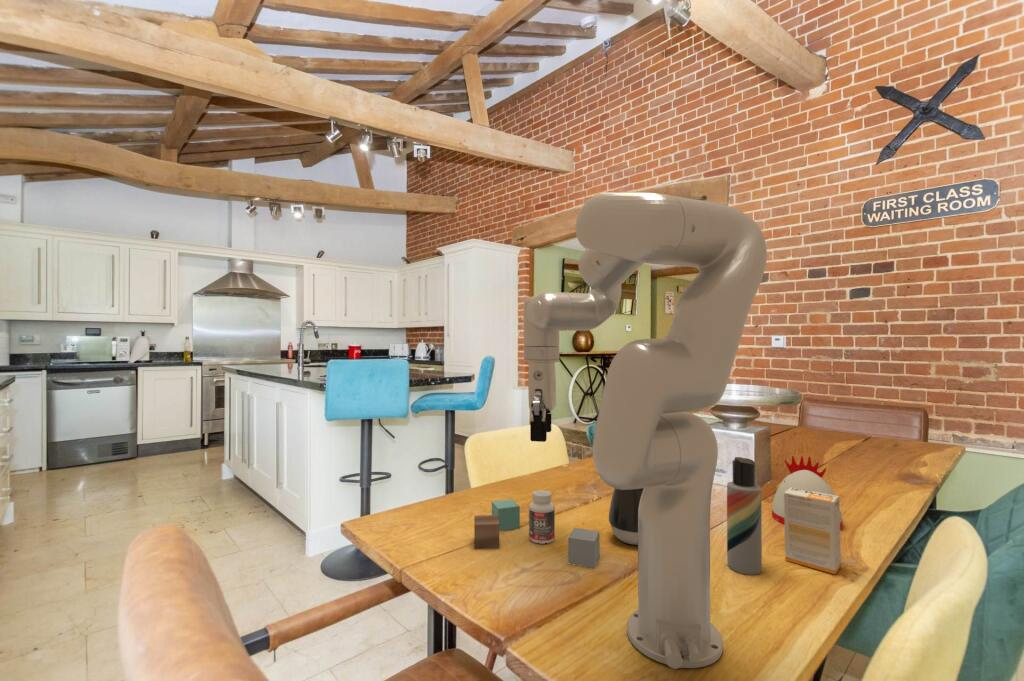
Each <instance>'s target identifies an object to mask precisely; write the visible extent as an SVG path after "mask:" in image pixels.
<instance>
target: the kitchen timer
mask: <svg viewBox="0 0 1024 681" xmlns="http://www.w3.org/2000/svg"><path fill="white" fill-rule="evenodd" d="M795 459H796V458H795V457H794V455H791V463H789V462H788V461H787V460H786V459H785V460H784V463H785V465H786V467H787V469H788V471H789V474H788V475H786V477H784V478H783V479H782V481H781V482H780V483H778V484H777V485H776V486H775V487H776V488H777V489H776V492H775V495H774V498H773V500H772V507H771V517H772V518H773V520H775V521H776V522H778V523H780V524H781V525H784V526H785V516H784V492H785V491H787V490H788V489H789V488H791V487H792V488H798V489H803V490H809V491H814V492H820V493H825V494H830V495H836V494H835V492H834V491H833V489H832V487H831V486H830V484H829V483H828V482H827V481H826V480H825V479H824V478H823V476H824V475H825V473H826V471H827V467H824V469H823V470H822V471H820V472H818V468H819V464H820V463H819V461H817V462H816V463H815V464H814V465H813V464H812V460H811V456H808V458H807V462H806V464H805V461H804V458H803V455H801V457H800V460H799V463H798V464H797V462H796V460H795ZM843 521H844V520H843V515H842V511H841V510H840V531H842V529H843V526H844V524H843Z"/></svg>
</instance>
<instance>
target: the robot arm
mask: <svg viewBox="0 0 1024 681" xmlns="http://www.w3.org/2000/svg"><path fill="white" fill-rule="evenodd" d="M575 235H576V238H577V241H578V242H579V244H580V245H581V246H582V247H583V248H584V249H585V250H584V251H583V252H582V253H581V254H580V256H579V258H578V263H577V266H578V272H579V275H580V277H581V278H582V280H583V281H584V282H585V283H586V285H588V286H589V287H590V288H591V289H592V290H590V291H588V292H587V293H584V292H583V293H582V292H581V293H580V292H568V291H567V292H565V291H563V292H560V291H547V292H546V291H545V292H541V293H540V294H538V295H534V296H528V297H526V298H525V299H524V302H523V363H528V383H527V384H528V394H527V395H528V408H529V410H531V412H530V413H531V414H530V421H529V424H530V426H529V427H530V428H529V430H530V432H529V435H530V437H529V438H530V439H529V440H530V441H531V442H540V443H542V442H543V443H544V442H546V441H547V440H548V439H547V437H548V436H547V434H548V433H551V431H552V411H553V410H554V409H555V407H556V405H557V393H556V390H557V389H556V388H557V387H556V384H557V383H556V380H557V378H556V364H555V363H560V332H561V331H563V332H564V331H573V332H574V331H576V332H578V331H581V332H587V331H591V330H594V329H597V328H598V327H600V326H601V325H602V324H603V323H605V322H606V321H607V320H608V319H609V318H610V317H612V315H614V314H615V313H616V311H617V309H618V306H620V305H619V304H620V301H621V297H622V284H623V283H625V281H627V279H629V278H630V277H631V276H632V275H633V274H634V273H635V272H636V271H637V270H638V269H639V268H641V266H643V265H644V264H648V265H649V264H650V265H663V266H673V267H674V266H675V267H687V268H688V267H689V268H696V269H697V270H698V273H697V275H696V276H695V277H694V278H693V280H692V281H690V282H689V284H688V285H687V286H686V287H685V289H684V291H682V294H681V295H680V297H679V298H678V301H677V303H676V306H675V308H674V313H673V316H672V317H673V318H672V321H671V325H670V327H669V331H668V333H667V334H666V336H665V337H664V338H641V339H637V340H636V339H635V340H633V341H630V342H628V343H626V344H625V345H623V346H622V347H621V348H620V349H619V350H618V351H617V353H616V354H615V356H614V357H613V358H612V361H611V363H610V364H609V368H608V371H607V374H606V379H605V382H604V387H603V388H604V389H603V392H602V396H601V401H600V404H599V405H600V407H599V410H598V414H597V415H598V416H597V420H596V424H595V428H594V434H593V439H592V440H593V441H592V458H593V465H594V467H595V469H596V470H595V471H596V473H597V474H598V477H600V480H602V482H603V483H605V484H606V485H607V486H609V487H610V488H613V489H614V488H616V489H620V490H632V489H640V488H644V489H643V492H642V495H641V498H640V503H639V509H638V545H637V571H638V572H637V580H638V581H637V585H638V586H637V587H638V588H637V591H638V592H637V593H638V594H637V595H638V596H637V597H638V598H637V604H638V606H637V608H638V609H637V610H636V611H634V612H633V613H632V614H630V615H629V617H628V619H627V622H626V633H627V637H628V639H629V641H630V642H631V644H632V645H633V646H634V647H635V649H637V650H638V651H639V652H640V653H642V654H643V655H645V656H646V657H648V658H650V659H651V660H653V661H656V662H658V663H661V664H664V665H667V666H668V667H670V668H671V669H675V670H677V669H680V668H683V669H698V668H703V667H707V666H710V665H712V664H714V663H715V662H716V661H717V662H718V660H719V659H720V658H721V656H722V655H723V654H722V653H723V650H724V648H723V647H724V643H723V642H724V640H723V636H722V634H721V633H720V631H719V629H718V628H717V627H716V626H715V625H714V624H713V623H712V622H711V504H712V503H711V502H712V490H713V485H714V480H715V473H716V469H717V464H718V457H719V456H718V454H719V453H718V452H719V447H718V441H717V436H716V434H715V432H714V431H713V429H712V427H711V426H710V424H709V423H708V422H707V421H706V420H705V419H703V418H702V417H700V416H698V415H696V414H694V413H692V412H694V411H701V410H705V409H708V408H711V407H714V406H715V405H716V404H718V403H719V402H720V400H721V399H722V397H723V395H724V393H725V390H726V388H727V385H728V382H729V380H730V376H731V372H732V370H733V369H732V368H733V365H734V362H735V358H736V356H737V352H738V350H739V346H740V342H741V339H742V336H743V333H744V328H745V325H746V322H747V318H748V316H749V312H750V310H751V307H752V305H753V303H754V299H755V298H756V295H757V293H758V290H759V287H760V285H761V283H762V279H763V277H764V275H765V274H764V273H765V270H766V266H767V258H768V249H767V247H768V246H767V242H766V239H765V236H764V233H763V231H762V229H761V227H760V226H759V224H758V223H757V222H756V221H755V220H754V219H753V217H751V216H749V215H748V214H747V213H745V212H743V211H741V210H739V209H737V208H734V207H732V206H729V205H726V204H721V203H717V202H712V201H706V200H701V199H694V198H687V197H682V196H677V195H672V194H671V195H670V194H664V193H663V194H662V193H655V192H614V191H613V192H611V191H603V192H602V191H601V192H599V193H596V194H594V195H593V196H592V197H590V198H589V199H587V201H586V202H585V203H584V204H583V205H582V207H581V209H580V210H579V212H578V214H577V217H576V222H575Z"/></svg>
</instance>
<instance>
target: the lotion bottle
mask: <svg viewBox="0 0 1024 681" xmlns="http://www.w3.org/2000/svg"><path fill="white" fill-rule="evenodd" d="M731 466H732V481H729V482H727V484H726V556H727V557H726V559H727V565H728V567H729V568H730V569H731V570H733V571H734V572H736V573H740V574H744V575H758V574H760V573H761V571H762V568H763V567H762V566H763V565H762V563H763V562H762V561H763V559H762V558H763V557H762V555H763V554H762V553H763V552H762V548H763V546H762V545H763V544H762V540H763V539H762V536H763V535H762V530H763V528H762V523H763V522H762V518H763V517H762V511H763V510H762V505H763V504H762V488H761V486H760V485H758V484H756V462H755V461H754V460H752V459H751V458H745V457H739V456H735V457H734V459H733V460H732V464H731Z"/></svg>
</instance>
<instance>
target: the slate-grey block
mask: <svg viewBox="0 0 1024 681" xmlns="http://www.w3.org/2000/svg"><path fill="white" fill-rule="evenodd" d="M567 537H568V538H567V564H568V563H570V564H569V565H572V564H575V565H574V566H578V565H581V566H580V567H584V566H586V568H590V567H591V568H592V569H596V566H597V564H598V561H599V560H600V549H601V548H600V530H594V529H585V528H579V527H573V529H572V530H571V532H570V533H569V535H568V536H567Z"/></svg>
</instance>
